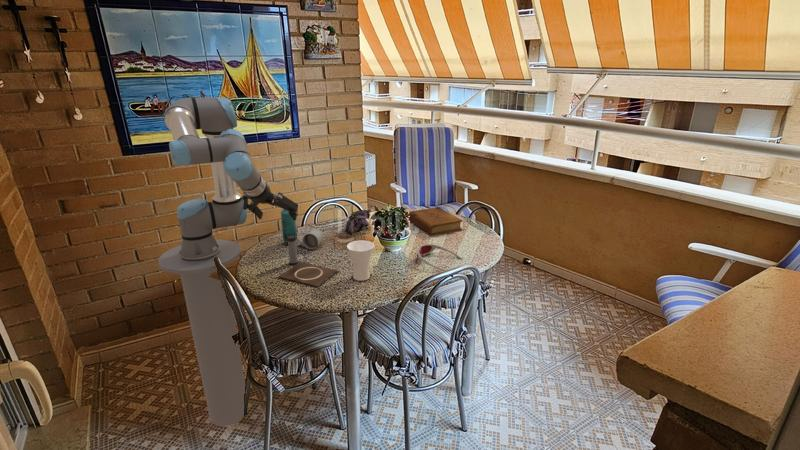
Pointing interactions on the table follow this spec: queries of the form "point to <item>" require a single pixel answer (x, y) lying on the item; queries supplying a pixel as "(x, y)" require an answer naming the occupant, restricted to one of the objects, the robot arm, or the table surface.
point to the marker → (292, 249)
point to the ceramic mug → (312, 239)
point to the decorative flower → (357, 221)
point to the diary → (435, 221)
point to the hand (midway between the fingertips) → (278, 216)
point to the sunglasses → (428, 249)
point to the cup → (360, 258)
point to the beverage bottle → (288, 225)
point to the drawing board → (308, 274)
